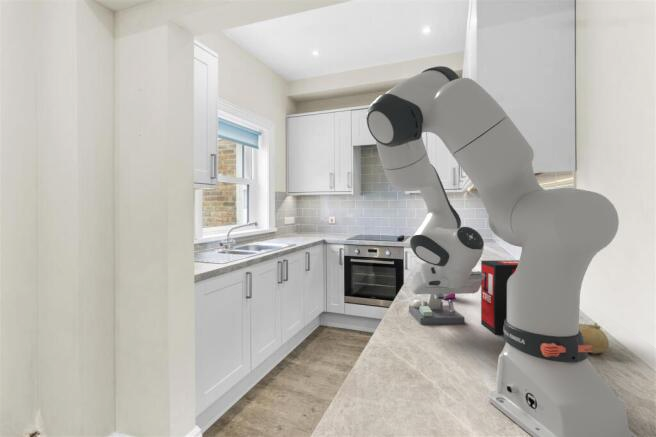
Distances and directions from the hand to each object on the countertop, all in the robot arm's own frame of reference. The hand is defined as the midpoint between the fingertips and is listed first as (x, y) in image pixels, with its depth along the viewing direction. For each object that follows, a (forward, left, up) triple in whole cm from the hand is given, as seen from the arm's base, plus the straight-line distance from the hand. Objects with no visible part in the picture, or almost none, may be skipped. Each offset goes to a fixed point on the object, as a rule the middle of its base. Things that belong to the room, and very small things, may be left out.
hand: (439, 297), depth 103 cm
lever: (+6, 0, -5) cm, 8 cm away
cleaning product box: (-8, -20, -8) cm, 23 cm away
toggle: (+1, -5, -5) cm, 7 cm away
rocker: (0, +4, -5) cm, 6 cm away
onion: (-23, -29, -8) cm, 38 cm away
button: (+9, +4, -6) cm, 11 cm away
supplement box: (+28, -13, -8) cm, 32 cm away
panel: (+4, 0, -8) cm, 9 cm away
